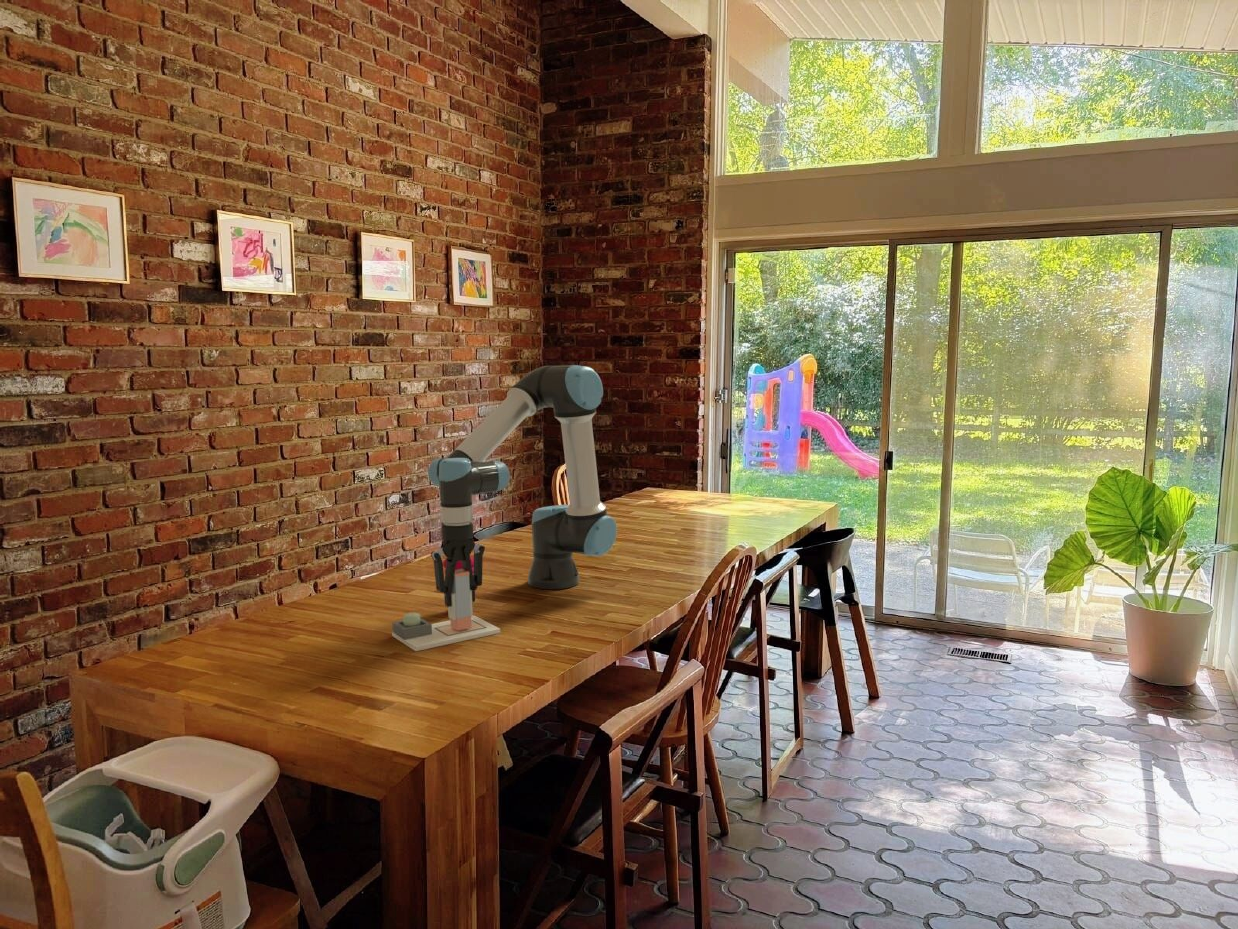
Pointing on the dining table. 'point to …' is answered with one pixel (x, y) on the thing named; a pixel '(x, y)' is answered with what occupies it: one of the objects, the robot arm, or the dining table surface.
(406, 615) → the button
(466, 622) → the grey and pink block
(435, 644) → the panel
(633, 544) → the dining table surface
